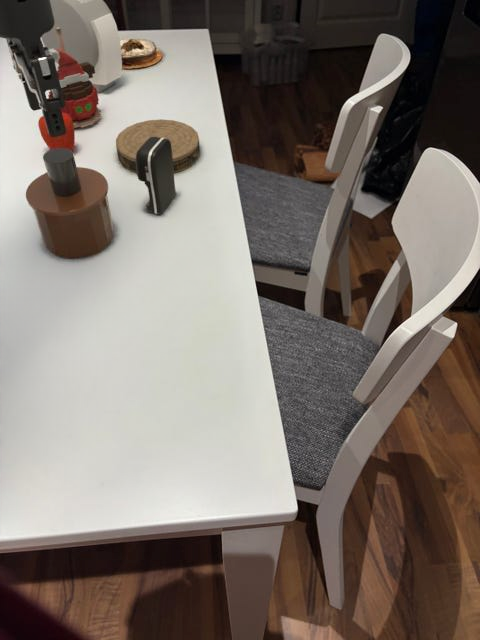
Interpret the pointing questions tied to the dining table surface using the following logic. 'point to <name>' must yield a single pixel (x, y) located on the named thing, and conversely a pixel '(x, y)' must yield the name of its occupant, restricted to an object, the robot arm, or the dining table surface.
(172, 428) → the dining table surface
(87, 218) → the crock
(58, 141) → the apple
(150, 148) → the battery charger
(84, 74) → the cake
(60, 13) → the alarm clock
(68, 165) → the crock lid
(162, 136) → the wood log slice
